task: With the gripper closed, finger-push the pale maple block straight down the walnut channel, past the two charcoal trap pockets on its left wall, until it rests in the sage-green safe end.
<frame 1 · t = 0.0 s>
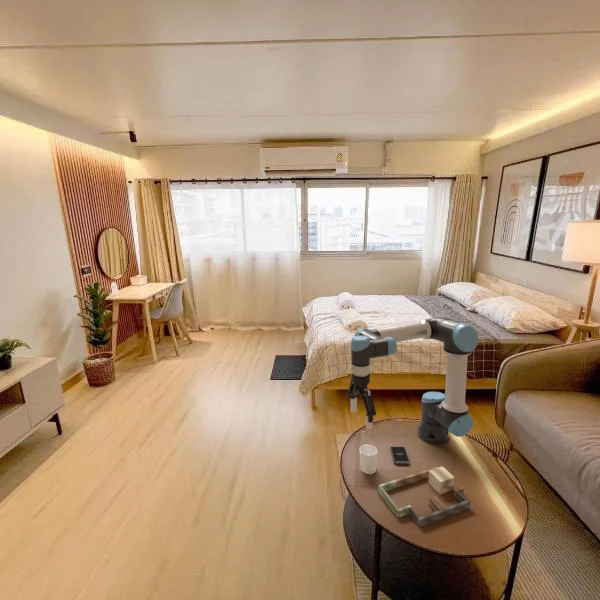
hand: (361, 419, 139), 28 cm above the table, fingers open, 13 cm apart
external hard drive: (399, 457, 156), on the table
white cup: (368, 469, 149), on the table
block: (441, 486, 137), on the table
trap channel: (421, 492, 134), on the table
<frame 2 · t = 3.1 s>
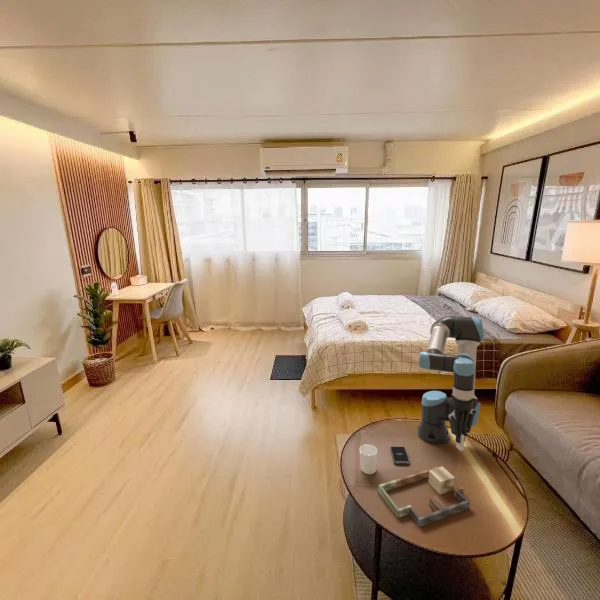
hand: (459, 448, 137), 15 cm above the table, fingers closed
nothing on the table moved.
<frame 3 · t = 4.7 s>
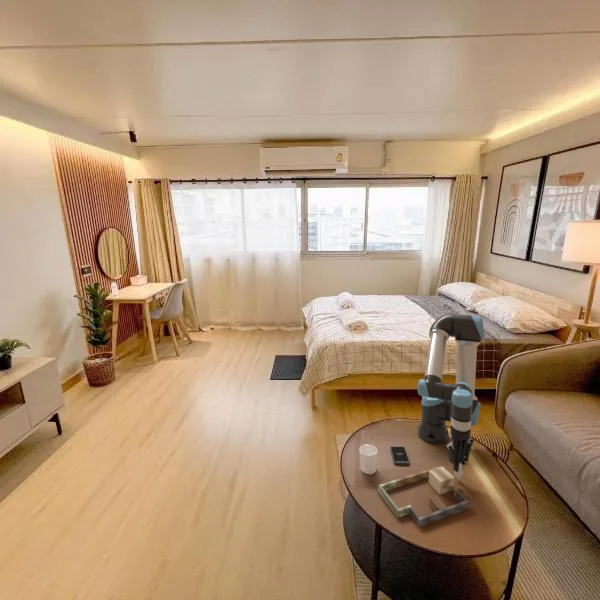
hand: (457, 476, 139), 2 cm above the table, fingers closed
nothing on the table moved.
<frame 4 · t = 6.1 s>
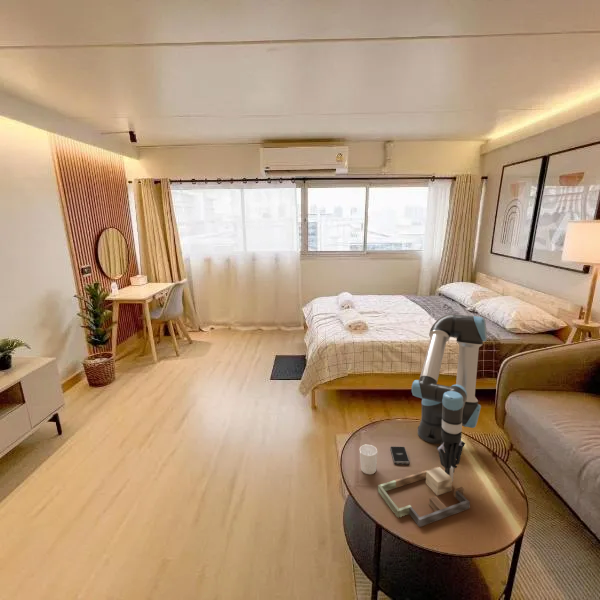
hand: (449, 479, 138), 2 cm above the table, fingers closed
block: (438, 487, 137), on the table, touching gripper
everything else where it was.
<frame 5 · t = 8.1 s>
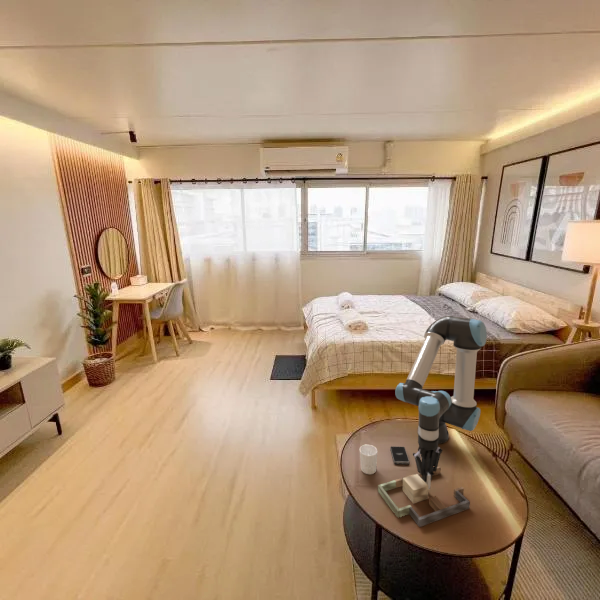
hand: (426, 487, 134), 2 cm above the table, fingers closed
block: (415, 494, 133), on the table, touching gripper
everything else where it was.
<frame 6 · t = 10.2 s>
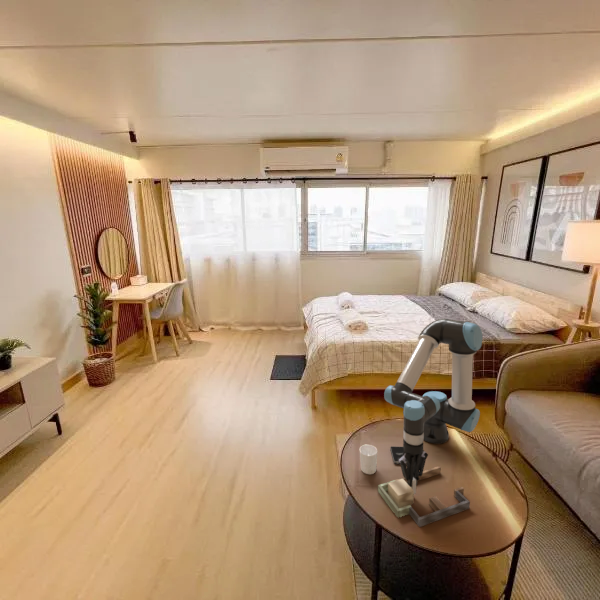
hand: (412, 491, 132), 2 cm above the table, fingers closed
block: (400, 499, 131), on the table, touching gripper
everything else where it was.
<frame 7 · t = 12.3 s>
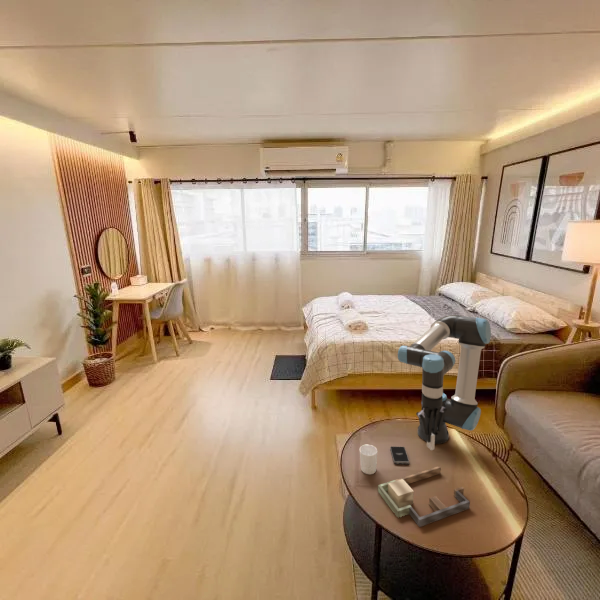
hand: (430, 447, 132), 20 cm above the table, fingers closed
block: (400, 500, 131), on the table
everything else where it was.
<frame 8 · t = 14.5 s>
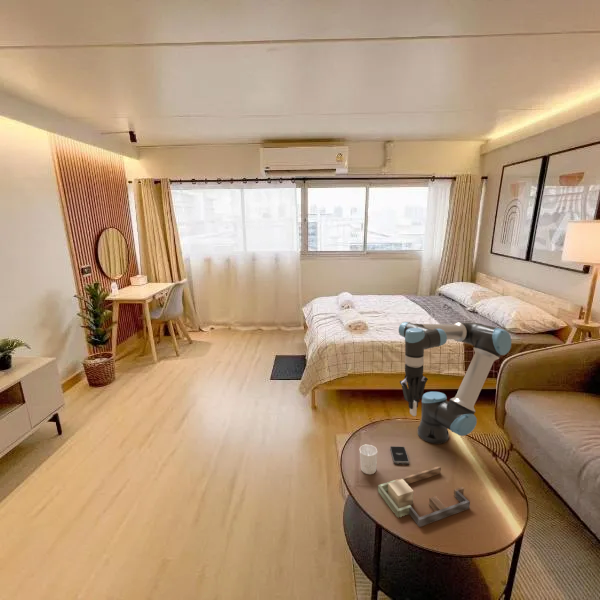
hand: (413, 414, 144), 26 cm above the table, fingers closed
nothing on the table moved.
at the end: block inside the target area (0.6 cm from its centre), on the table; block tilted 0°; block moved 19.9 cm from its start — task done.
